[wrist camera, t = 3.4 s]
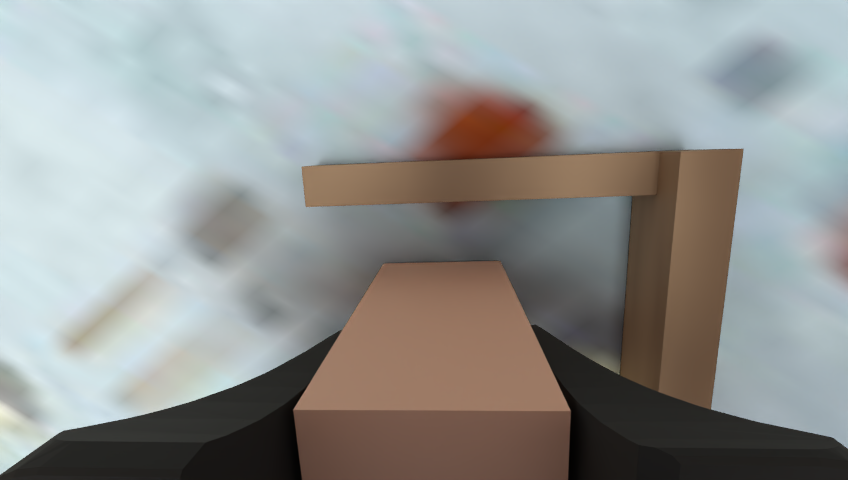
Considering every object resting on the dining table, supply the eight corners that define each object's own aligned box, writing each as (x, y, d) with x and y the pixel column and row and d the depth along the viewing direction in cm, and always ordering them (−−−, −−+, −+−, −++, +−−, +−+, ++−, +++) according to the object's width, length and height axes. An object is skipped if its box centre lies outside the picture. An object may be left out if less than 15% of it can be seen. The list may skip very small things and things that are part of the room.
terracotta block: (500, 260, 13) (570, 411, 6) (500, 368, 14) (561, 630, 6) (383, 263, 14) (293, 409, 6) (390, 368, 14) (319, 620, 7)
